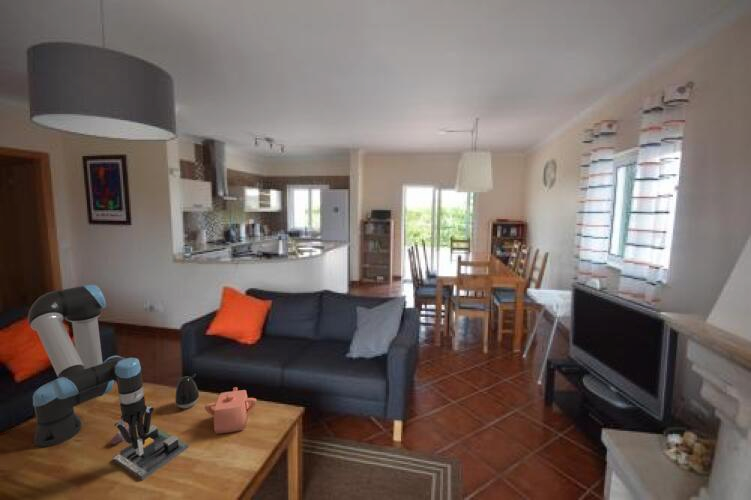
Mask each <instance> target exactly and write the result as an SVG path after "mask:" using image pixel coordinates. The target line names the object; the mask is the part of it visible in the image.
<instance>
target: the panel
mask: <svg viewBox="0 0 751 500" xmlns="http://www.w3.org/2000/svg"><path fill="white" fill-rule="evenodd" d="M145 436H146V437H145V438H144V439H145V440H146V439H148V438H149V437H150V438H151V439H153V440H154V445H155V450H154V451H153V452H151V453H150V454H148V455H147V456H145V457H144V456H142V455H141V456H139V455H137V454H136V450H135V449H134V448H133V447H132V444H130V445H128V446H126V447H125V448H123V449H121V450H120V451H119V453H118V454H116V455H114V456H113V457H112V460H113V462H114V463H116V464H118V465H119V466H120V467H122V468H123V469H125V470H126V471H128V472H130V473H131V474H133V476H135V477H136V478H138V479H140V480H142V481H143V480H145V479H146V478H147V477H149V476H151V475H152V474H154V472H156V471H157V470H159V469H160V468H162V467H164V465H166V464H168V463H169V462H170V461H171V460H173V459H175V458H176V457H177V456H180V454H182V453H183V452H185V451H186V450H187V449H188V448H189V443H187V442H185V441H183V440H181V439H180V438H179V437H177V436H175V435H174V434H173V435H172V434H169V433H168V432H167V431H164V430H163V429H158V426H157V425H155V424H151V425H150V429H149V433H146V434H145Z"/></svg>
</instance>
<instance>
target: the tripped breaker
mask: <svg viewBox="0 0 751 500" xmlns="http://www.w3.org/2000/svg"><path fill="white" fill-rule="evenodd" d="M143 450H144V454H142V456H144V457H145V456H147V455H148V454H150V453H151V452H153V451H154V450H155V445H154V440H153V439H151V438H150V437H149V438H148V439H146V440H145V444H143Z"/></svg>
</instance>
